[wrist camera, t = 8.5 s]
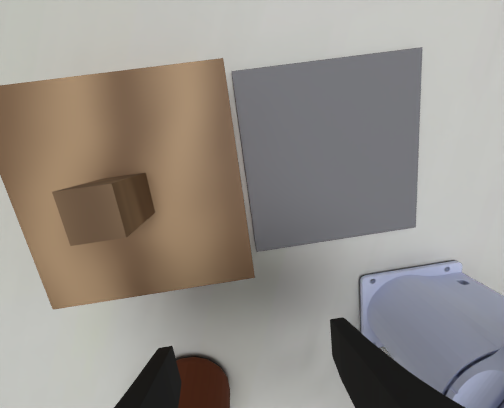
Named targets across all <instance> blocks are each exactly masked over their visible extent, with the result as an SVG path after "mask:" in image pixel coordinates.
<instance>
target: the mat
mask: <svg viewBox="0 0 504 408" xmlns="http://www.w3.org/2000/svg"><path fill="white" fill-rule="evenodd" d="M421 67H422V47H421V48H413V49H405V50H397V51H389V52H381V53H373V54H365V55H357V56H349V57H342V58H334V59H326V60H318V61H310V62H302V63H294V64H286V65H278V66H270V67H262V68H254V69H246V70H238V71H232V78H233V86H234V93H235V100H236V107H237V114H238V121H239V129H240V136H241V143H242V150H243V157H244V165H245V172H246V179H247V186H248V193H249V200H250V208H251V215H252V222H253V229H254V236H255V244H256V250H257V252H259V251H265V250H272V249H278V248H285V247H291V246H298V245H304V244H311V243H317V242H324V241H330V240H336V239H343V238H349V237H356V236H362V235H369V234H375V233H382V232H388V231H395V230H401V229H408V228H414V227H416V204H417V176H418V149H419V122H420V95H421Z"/></svg>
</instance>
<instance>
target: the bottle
mask: <svg viewBox="0 0 504 408" xmlns="http://www.w3.org/2000/svg"><path fill="white" fill-rule="evenodd" d="M176 362H177V366H178V370H179V374H180V378H181V382H182V383H181V391H180V399H179V406H178V408H230V388H229V383H228V378H227V376H226V374H225V373H224V372H223V370H222V369H221V368H220V367H219V366H218V365H216V364H215V363H213V362H211V361H210V360H208V359H204V358H199V357H188V358H181V359H179V360H177V361H176Z"/></svg>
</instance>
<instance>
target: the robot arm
mask: <svg viewBox="0 0 504 408" xmlns="http://www.w3.org/2000/svg"><path fill="white" fill-rule="evenodd" d="M371 279H373V280H372V281H370V280H371ZM360 297H361V332H359V331H358V330H357V329H356V328H355V327H354V326H353V325H352V324H350V323H349V322H348V321H347V320H346V319H345V318H337V319H331V320H330V325H331V341H332V356H333V359H334V361H335V364H336V367H337V369H338V372H339V375H340V377H341V380H342V382H343V384H344V386H345V388H346V390H347V392H348V394H349V396H350V398H351V400H352V402H353V404H354V406H355V408H504V296H503V295H501V294H499V293H497V292H496V291H494V290H492V289H490V288H489V287H487V286H485V285H483V284H482V283H480V282H478V281H476V280H474V279H473V278H471V277H469V276H467V275H466V274H464V273H462V264H461V263H460V262H458V261H451V262H444V263H438V264H432V265H426V266H419V267H413V268H407V269H401V270H395V271H388V272H382V273H376V274H370V275H365V276H363V277H361V279H360ZM379 347H385V348H386V350H387V351H388V352H389V354H390V355H391V356H392V358H393V359H394V360H395V361H394V360H393V359H392V358H391V357H389V356H388V355H387V354H386V353H384V352H383V351H382V350H381V349H379ZM181 383H182V382H181V378H180V374H179V370H178V366H177V362H176V359H175V355H174V351H173V347H172V346H169V347H163V348H158V350H157V351H156V352H155V354H154V355H153V356H152V358H151V359H150V360H149V362H148V363H147V365H146V366H145V367H144V369H143V370H142V371H141V373H140V374H139V376H138V377H137V378H136V380H135V381H134V382H133V384H132V385H131V386H130V388H129V389H128V390H127V392H126V393H125V394H124V396H123V397H122V398H121V400H120V401H119V402H118V403H117V405H116V406H115V407H114V408H178V406H179V399H180V391H181Z"/></svg>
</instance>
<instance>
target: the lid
mask: <svg viewBox="0 0 504 408" xmlns="http://www.w3.org/2000/svg"><path fill="white" fill-rule="evenodd" d="M0 175H1V178H2V180H3V183H4V185H5V188H6V190H7V193H8V196H9V198H10V201H11V203H12V206H13V208H14V211H15V214H16V216H17V219H18V221H19V224H20V226H21V229H22V231H23V234H24V237H25V239H26V242H27V244H28V247H29V249H30V252H31V255H32V257H33V260H34V262H35V265H36V267H37V270H38V272H39V275H40V278H41V280H42V283H43V285H44V288H45V290H46V293H47V296H48V298H49V301H50V303H51V306H52V308H53V309H59V308H66V307H72V306H78V305H85V304H91V303H97V302H104V301H110V300H116V299H123V298H129V297H135V296H142V295H148V294H154V293H161V292H167V291H173V290H180V289H186V288H192V287H199V286H205V285H211V284H218V283H224V282H230V281H236V280H243V279H249V278H255V275H254V268H253V261H252V255H251V248H250V241H249V234H248V227H247V220H246V213H245V206H244V199H243V192H242V185H241V179H240V172H239V165H238V158H237V151H236V144H235V137H234V130H233V123H232V116H231V110H230V103H229V96H228V89H227V82H226V75H225V68H224V61H223V58H221V59H213V60H205V61H196V62H188V63H180V64H172V65H164V66H156V67H148V68H139V69H131V70H123V71H115V72H107V73H99V74H91V75H82V76H74V77H66V78H58V79H50V80H42V81H34V82H25V83H17V84H9V85H1V86H0Z"/></svg>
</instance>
